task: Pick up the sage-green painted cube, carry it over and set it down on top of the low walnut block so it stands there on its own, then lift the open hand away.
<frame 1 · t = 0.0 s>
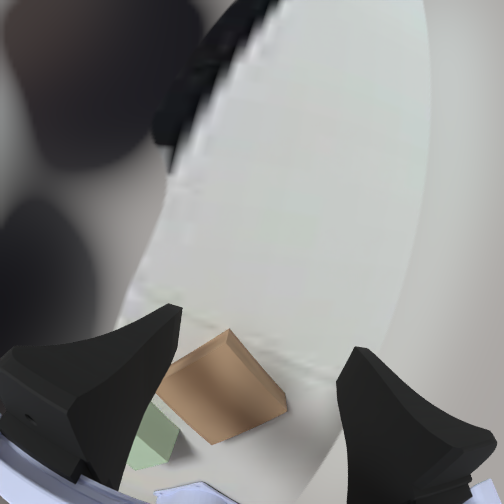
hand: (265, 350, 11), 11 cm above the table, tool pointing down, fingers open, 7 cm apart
walnut block: (221, 382, 23), on the table
sage cube: (147, 420, 24), on the table
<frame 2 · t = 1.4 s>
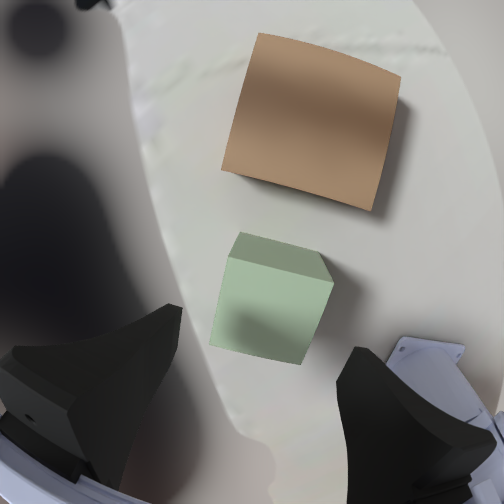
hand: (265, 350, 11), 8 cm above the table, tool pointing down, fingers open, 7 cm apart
walnut block: (310, 123, 15), on the table
sage cube: (269, 277, 18), on the table
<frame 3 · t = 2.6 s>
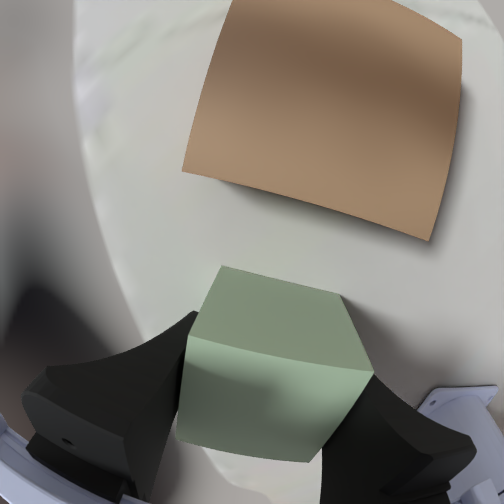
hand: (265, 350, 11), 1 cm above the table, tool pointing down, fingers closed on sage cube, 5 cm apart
walnut block: (329, 99, 9), on the table
sage cube: (266, 330, 12), on the table, touching gripper
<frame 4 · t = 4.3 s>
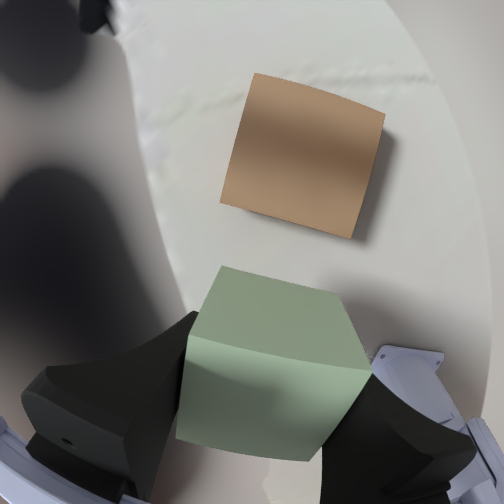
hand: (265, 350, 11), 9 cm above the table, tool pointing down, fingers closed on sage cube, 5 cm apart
walnut block: (300, 155, 18), on the table
sage cube: (266, 330, 12), point 8 cm above the table, touching gripper
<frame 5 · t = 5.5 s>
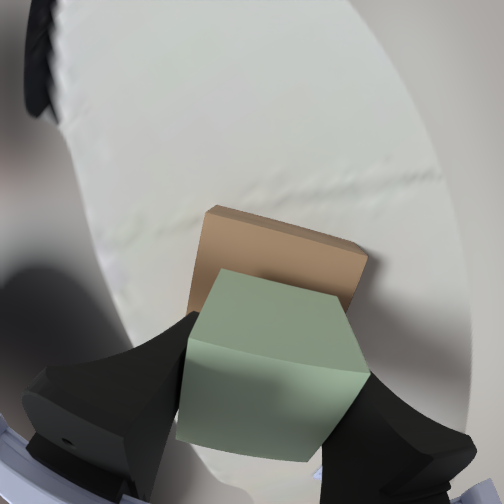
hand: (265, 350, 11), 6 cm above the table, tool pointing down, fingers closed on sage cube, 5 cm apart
walnut block: (268, 285, 17), on the table
sage cube: (265, 332, 12), point 4 cm above the table, touching gripper
when the fingers open (5 cm above the table, at t = 6.2 s): sage cube drops 1 cm, point 3 cm above the table.
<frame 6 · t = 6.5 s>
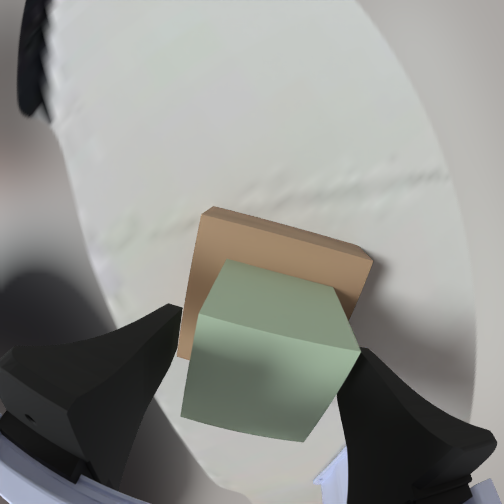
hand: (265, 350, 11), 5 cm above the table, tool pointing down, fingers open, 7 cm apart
walnut block: (267, 290, 16), on the table
sage cube: (266, 320, 13), point 3 cm above the table
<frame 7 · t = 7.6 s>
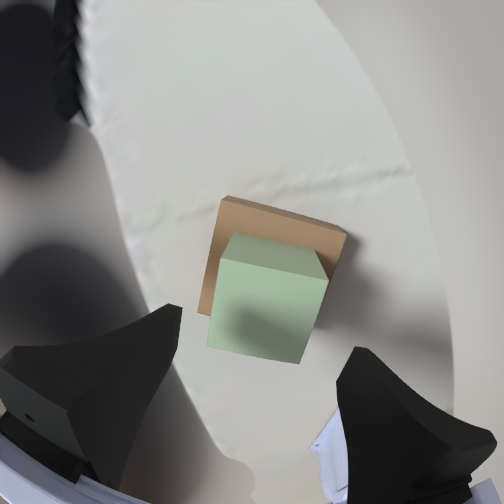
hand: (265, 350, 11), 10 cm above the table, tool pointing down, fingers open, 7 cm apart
walnut block: (268, 261, 21), on the table, touching sage cube
sage cube: (265, 277, 18), point 3 cm above the table, touching walnut block
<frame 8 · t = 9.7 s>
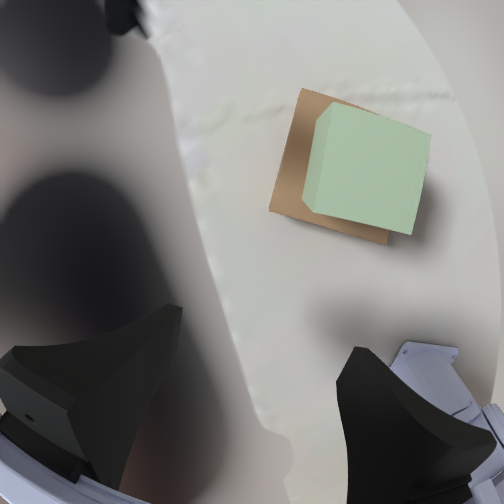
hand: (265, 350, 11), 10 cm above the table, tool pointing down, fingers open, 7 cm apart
walnut block: (337, 167, 19), on the table, touching sage cube
sage cube: (348, 168, 16), point 3 cm above the table, touching walnut block
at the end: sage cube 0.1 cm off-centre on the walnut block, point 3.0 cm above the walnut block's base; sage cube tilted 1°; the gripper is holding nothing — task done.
